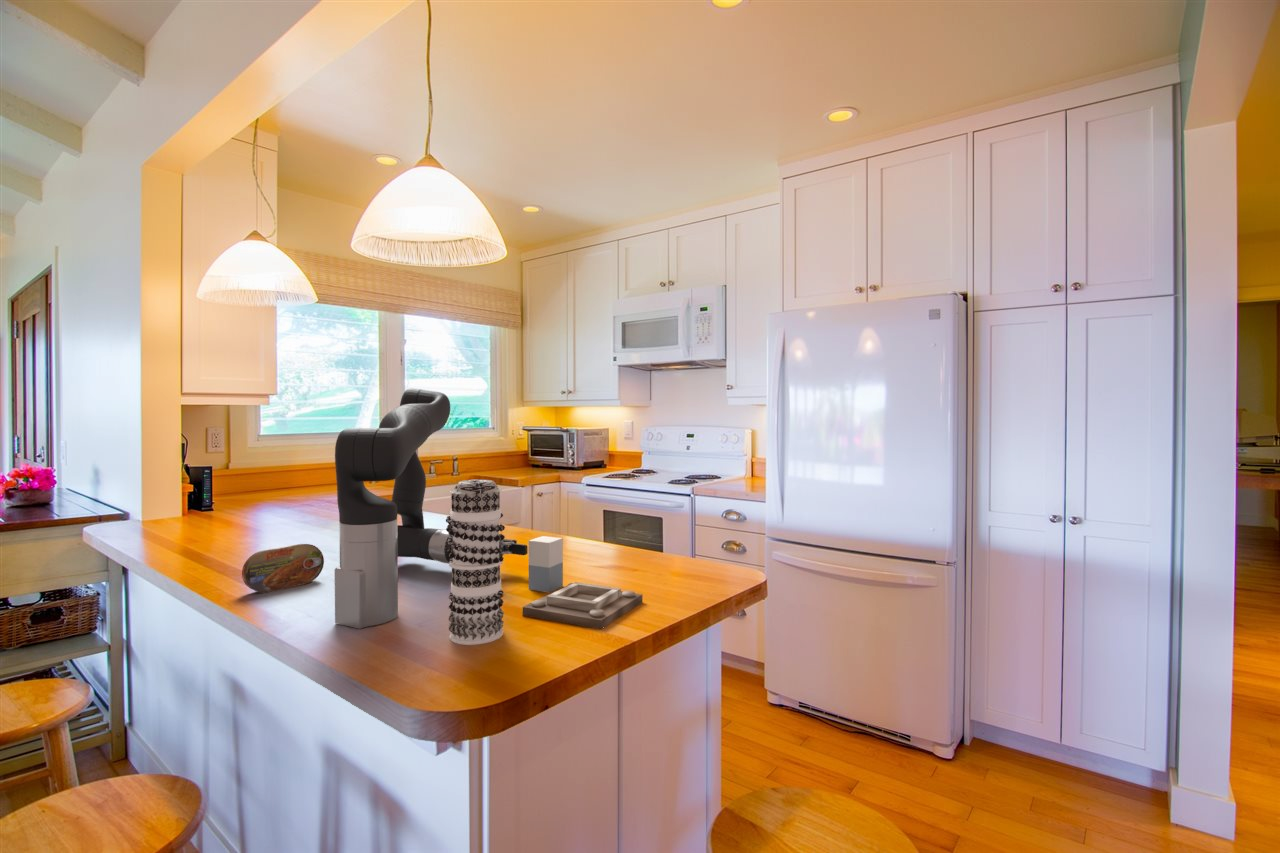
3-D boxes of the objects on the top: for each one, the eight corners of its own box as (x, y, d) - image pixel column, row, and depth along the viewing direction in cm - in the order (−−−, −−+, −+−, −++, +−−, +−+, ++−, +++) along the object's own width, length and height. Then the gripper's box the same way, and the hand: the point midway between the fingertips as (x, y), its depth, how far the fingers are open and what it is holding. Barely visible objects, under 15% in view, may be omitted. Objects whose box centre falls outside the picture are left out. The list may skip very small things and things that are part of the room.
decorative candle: (444, 629, 100) (443, 479, 100) (500, 622, 104) (500, 477, 103) (448, 649, 92) (447, 485, 91) (510, 640, 95) (509, 482, 95)
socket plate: (601, 629, 100) (601, 611, 100) (522, 615, 107) (522, 598, 107) (642, 602, 115) (642, 586, 115) (570, 591, 122) (570, 576, 122)
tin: (246, 597, 118) (245, 554, 118) (239, 594, 120) (239, 552, 119) (325, 580, 130) (324, 541, 129) (318, 577, 132) (317, 539, 131)
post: (549, 592, 121) (549, 542, 121) (528, 589, 123) (528, 540, 123) (562, 586, 125) (562, 538, 125) (542, 583, 128) (542, 536, 127)
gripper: (431, 536, 128) (492, 543, 121) (476, 524, 141) (534, 530, 134) (431, 571, 128) (492, 580, 121) (476, 556, 141) (534, 564, 134)
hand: (514, 554), depth 128 cm, fingers open, 8 cm apart
